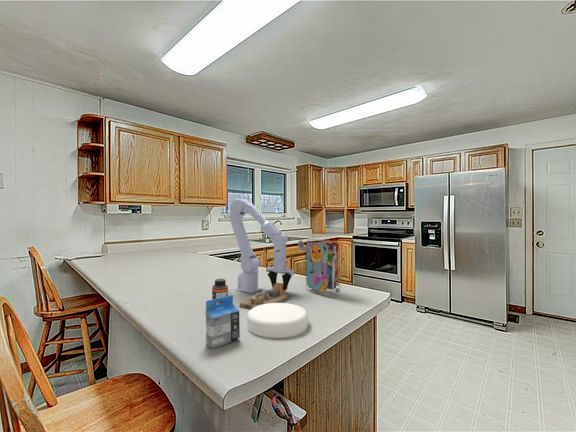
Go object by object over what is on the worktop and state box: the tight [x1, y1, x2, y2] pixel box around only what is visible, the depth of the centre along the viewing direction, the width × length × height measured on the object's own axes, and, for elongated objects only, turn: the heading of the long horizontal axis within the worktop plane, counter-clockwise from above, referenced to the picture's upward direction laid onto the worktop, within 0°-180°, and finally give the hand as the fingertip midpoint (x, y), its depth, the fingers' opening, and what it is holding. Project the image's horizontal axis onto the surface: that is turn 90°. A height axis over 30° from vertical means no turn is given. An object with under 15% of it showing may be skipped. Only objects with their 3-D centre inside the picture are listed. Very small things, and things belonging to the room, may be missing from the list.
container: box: [246, 302, 309, 339], centre depth 94 cm, size 20×20×5 cm
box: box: [297, 238, 341, 299], centre depth 134 cm, size 25×6×24 cm, turn 39°
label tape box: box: [205, 294, 241, 350], centre depth 81 cm, size 9×4×12 cm, turn 133°
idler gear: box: [274, 282, 287, 294], centre depth 132 cm, size 6×6×4 cm
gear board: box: [239, 287, 291, 310], centre depth 117 cm, size 11×20×5 cm, turn 149°
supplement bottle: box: [211, 278, 229, 305], centre depth 109 cm, size 6×6×11 cm
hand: (279, 288), depth 132 cm, fingers closed on idler gear, 5 cm apart
